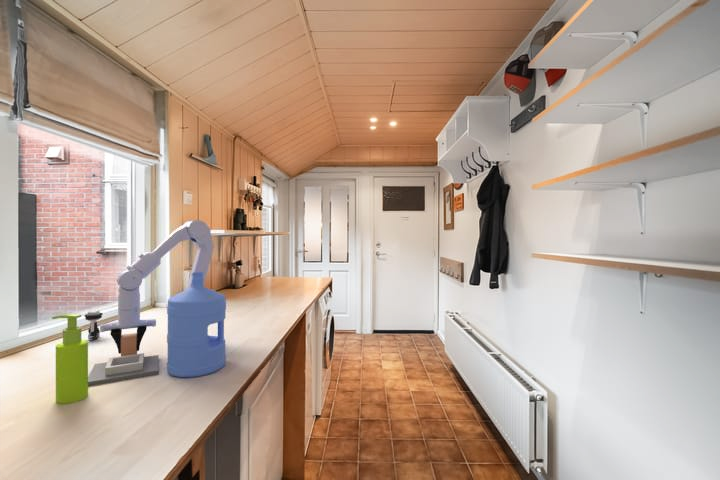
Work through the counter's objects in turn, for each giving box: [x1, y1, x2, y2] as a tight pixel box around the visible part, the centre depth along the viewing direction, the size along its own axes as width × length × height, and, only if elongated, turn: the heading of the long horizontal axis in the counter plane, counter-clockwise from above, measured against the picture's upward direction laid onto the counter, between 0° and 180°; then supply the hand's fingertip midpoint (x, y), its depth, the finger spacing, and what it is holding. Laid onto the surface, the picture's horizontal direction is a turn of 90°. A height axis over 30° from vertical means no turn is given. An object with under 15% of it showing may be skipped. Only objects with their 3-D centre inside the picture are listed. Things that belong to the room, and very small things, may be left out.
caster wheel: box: [83, 310, 103, 341], centre depth 125 cm, size 7×5×10 cm
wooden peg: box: [120, 332, 138, 357], centre depth 108 cm, size 4×4×7 cm
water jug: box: [166, 272, 227, 378], centre depth 100 cm, size 16×16×28 cm
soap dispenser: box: [51, 313, 89, 405], centre depth 81 cm, size 6×7×20 cm
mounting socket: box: [88, 353, 159, 387], centre depth 97 cm, size 16×14×3 cm
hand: (129, 351), depth 108 cm, fingers closed on wooden peg, 4 cm apart
